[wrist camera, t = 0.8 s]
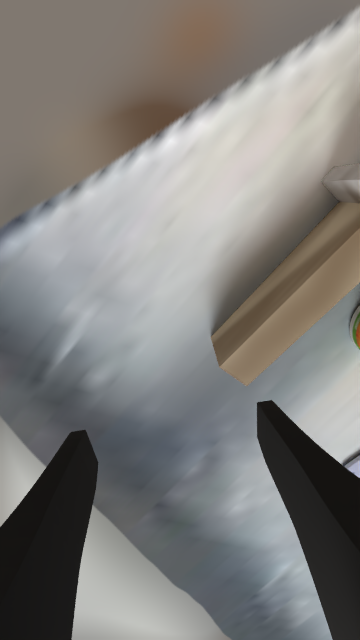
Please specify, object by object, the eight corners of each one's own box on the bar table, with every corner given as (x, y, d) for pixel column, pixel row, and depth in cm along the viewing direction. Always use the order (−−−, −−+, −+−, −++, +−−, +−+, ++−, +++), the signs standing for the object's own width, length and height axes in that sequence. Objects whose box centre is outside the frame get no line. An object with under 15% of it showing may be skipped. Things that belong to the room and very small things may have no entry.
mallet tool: (390, 232, 19) (444, 243, 15) (250, 365, 23) (266, 399, 19) (333, 166, 17) (378, 160, 13) (192, 323, 21) (197, 351, 17)
